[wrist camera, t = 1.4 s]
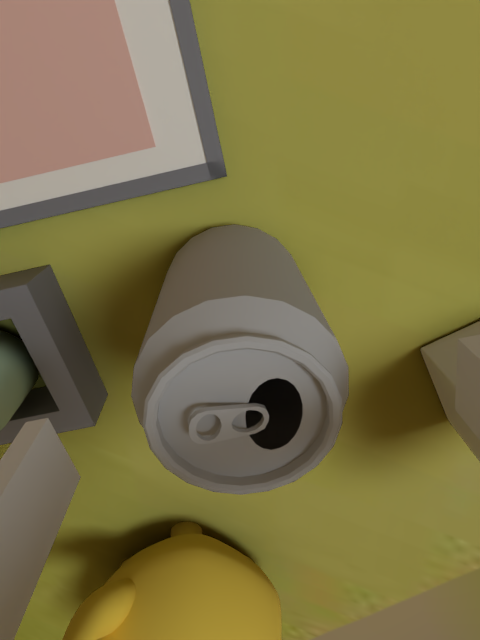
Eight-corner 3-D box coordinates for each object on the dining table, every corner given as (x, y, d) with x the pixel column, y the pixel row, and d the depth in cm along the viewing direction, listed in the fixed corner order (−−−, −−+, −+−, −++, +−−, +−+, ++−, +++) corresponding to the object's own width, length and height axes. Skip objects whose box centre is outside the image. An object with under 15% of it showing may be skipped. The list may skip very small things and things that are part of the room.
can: (291, 343, 25) (346, 511, 14) (170, 342, 24) (131, 515, 14) (303, 221, 21) (387, 321, 11) (163, 219, 21) (105, 319, 10)
